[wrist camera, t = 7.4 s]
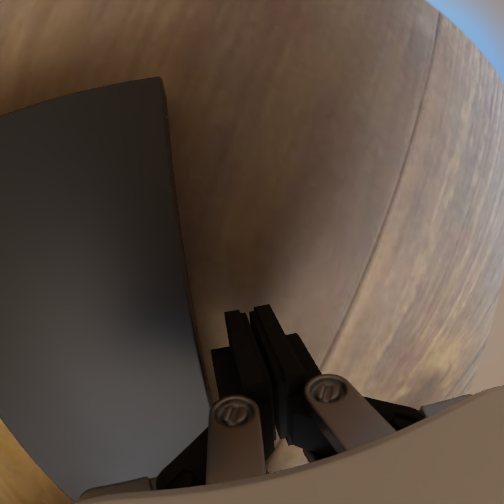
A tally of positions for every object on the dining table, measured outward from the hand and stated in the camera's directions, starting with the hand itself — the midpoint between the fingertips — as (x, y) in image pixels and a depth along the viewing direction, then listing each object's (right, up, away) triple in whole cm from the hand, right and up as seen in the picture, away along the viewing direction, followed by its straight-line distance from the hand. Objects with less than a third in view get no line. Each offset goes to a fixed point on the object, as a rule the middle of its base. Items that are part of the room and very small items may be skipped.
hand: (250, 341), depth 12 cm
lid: (-7, 0, +1) cm, 7 cm away
